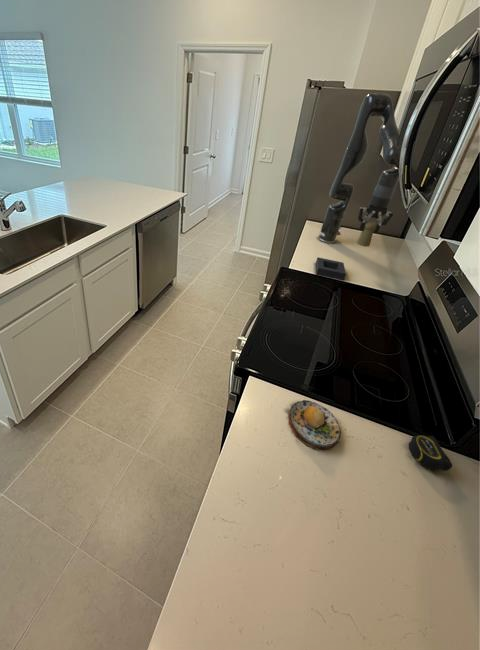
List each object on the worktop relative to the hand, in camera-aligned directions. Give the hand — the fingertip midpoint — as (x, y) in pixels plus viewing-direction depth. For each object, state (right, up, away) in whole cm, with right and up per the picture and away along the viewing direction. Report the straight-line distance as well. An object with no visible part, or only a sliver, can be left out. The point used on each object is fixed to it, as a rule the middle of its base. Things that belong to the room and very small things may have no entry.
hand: (367, 231), depth 143 cm
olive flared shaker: (-1, -6, +3) cm, 7 cm away
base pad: (-17, -19, +3) cm, 25 cm away
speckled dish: (-53, -56, -69) cm, 103 cm away
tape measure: (-29, -61, -73) cm, 99 cm away
